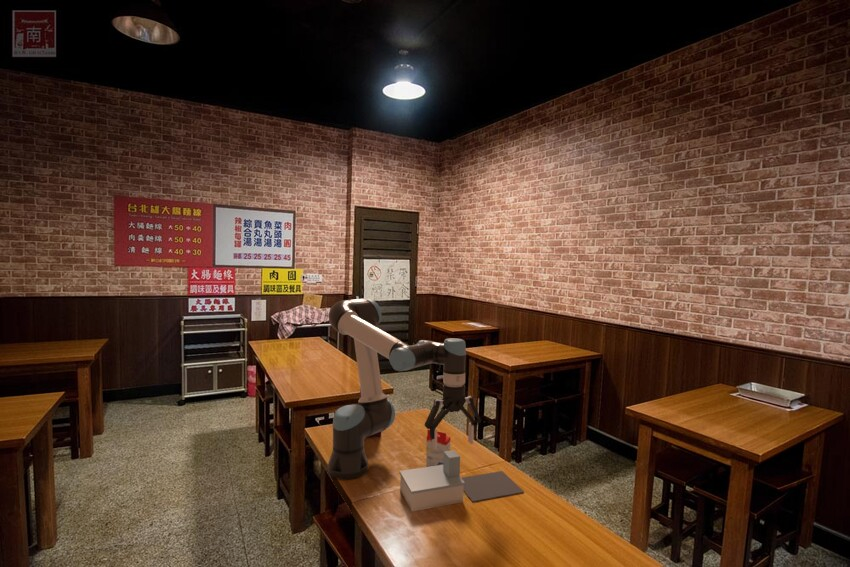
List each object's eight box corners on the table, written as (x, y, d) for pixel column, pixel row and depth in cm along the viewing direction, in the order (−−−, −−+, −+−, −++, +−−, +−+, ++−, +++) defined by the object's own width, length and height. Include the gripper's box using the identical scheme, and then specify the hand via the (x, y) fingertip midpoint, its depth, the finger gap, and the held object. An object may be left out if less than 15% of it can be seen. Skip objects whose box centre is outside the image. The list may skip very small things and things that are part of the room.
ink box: (450, 465, 164) (451, 429, 163) (445, 471, 159) (446, 433, 159) (430, 460, 168) (431, 425, 167) (425, 466, 163) (426, 429, 162)
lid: (411, 498, 133) (412, 470, 132) (399, 477, 145) (400, 451, 145) (464, 489, 139) (465, 462, 138) (448, 469, 152) (449, 444, 151)
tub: (411, 511, 133) (412, 493, 133) (400, 490, 145) (400, 473, 145) (462, 502, 139) (463, 484, 139) (447, 482, 151) (448, 466, 151)
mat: (472, 502, 139) (472, 501, 139) (454, 479, 153) (454, 478, 153) (524, 492, 146) (524, 491, 146) (502, 472, 160) (502, 470, 160)
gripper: (423, 390, 135) (422, 454, 136) (491, 384, 143) (490, 444, 144) (416, 384, 142) (415, 445, 143) (481, 378, 150) (480, 436, 151)
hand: (452, 445), depth 144 cm, fingers open, 13 cm apart
